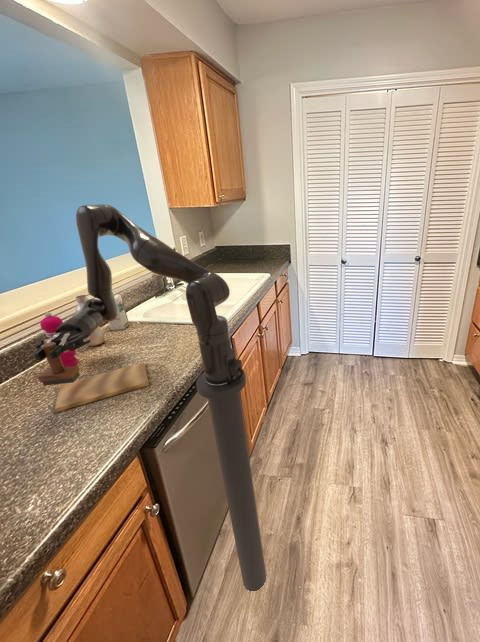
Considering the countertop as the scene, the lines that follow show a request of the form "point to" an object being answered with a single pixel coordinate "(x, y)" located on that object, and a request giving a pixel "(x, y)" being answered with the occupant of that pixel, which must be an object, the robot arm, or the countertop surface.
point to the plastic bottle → (97, 335)
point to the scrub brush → (57, 369)
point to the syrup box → (119, 315)
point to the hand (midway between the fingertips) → (44, 356)
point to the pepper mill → (50, 327)
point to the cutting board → (101, 386)
